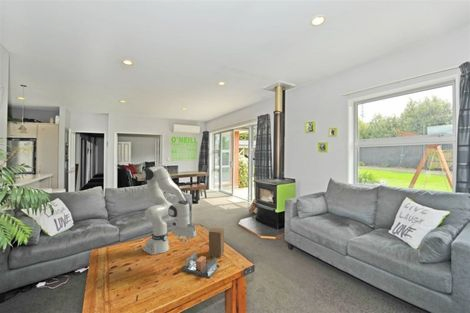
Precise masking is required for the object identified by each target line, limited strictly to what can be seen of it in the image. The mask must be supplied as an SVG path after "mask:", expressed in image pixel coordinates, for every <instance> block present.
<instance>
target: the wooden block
mask: <svg viewBox="0 0 470 313" xmlns="http://www.w3.org/2000/svg"><path fill="white" fill-rule="evenodd" d="M224 231H225V229H224V227H216V226H215V227H214V226H213V227H211V229H210V230H209V231H208V256H209V257H212V258H213V257H216V258H222V256H223V254H224V252H225V232H224Z"/></svg>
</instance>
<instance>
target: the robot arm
mask: <svg viewBox="0 0 470 313" xmlns="http://www.w3.org/2000/svg"><path fill="white" fill-rule="evenodd" d="M141 176H142V177H141V178H143V180H144V181H146V186H147V187H146V188H147V191H148V196H149V200H150V201H153V202H155V203H156V205H152V206H150V207H147V208H146V209H145V211H144V216H145V218H146V219H147V220H148V221H150V222H151V224H152V232H153V233H152V234H151V235H150V236H151V238H149V239H148V240H147V241H146V243H145V246H143V248H142V251H143V250H144V251H143V252H145V251H146V252H145V253H148V254H150V255H152V256H153V255H158V254H163V253H166V252H168V251H169V250H170V245H169V239H168V235H169V234H168V224H167V222H166V221H164V220H162V218H164V217H165V216H170V217H171V218H176V220H174V221H172V222H171V230H170V231H171V234H172V235H175V236H178V239H179V242H183V241H184V243H188V242H189V239H190V238H191V239H195V238H196V236H197V230H196V225H195V224H193V223H192V224H191V221H190V218H191V217H190V212H192V204H191V203H190V201H188V199H187V198H186V196H185V195H184V193H183V191H182V189H181V188H180V186H179V185H178V184H177V183H175V182H174V181H173V179H172V177H171V175H170V170H169V168H168V166H166V165H154V166H150V167H145V168H143V169H142V171H141ZM164 192H165V193H170V194H173V195H174V196H175V197H176V198H177V199H178V202H177V203H172V202H170V201H168V200H167V199H166V197H165V194H164ZM183 237H185V238H186V239H183Z"/></svg>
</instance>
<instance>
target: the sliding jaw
mask: <svg viewBox="0 0 470 313" xmlns="http://www.w3.org/2000/svg"><path fill="white" fill-rule="evenodd" d="M197 259H198V252H194V253H192V254H191V255H190V256H189V257H187V258H186V259H185V266H186V268H190V267H191V266H192V265H193V264H194V263H196V260H197Z"/></svg>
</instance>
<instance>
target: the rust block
mask: <svg viewBox="0 0 470 313" xmlns="http://www.w3.org/2000/svg"><path fill="white" fill-rule="evenodd" d="M206 261H207V256H200V257H197V260H196V269H197V270H202V269H203V268H204V267H205V265H206Z"/></svg>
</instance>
